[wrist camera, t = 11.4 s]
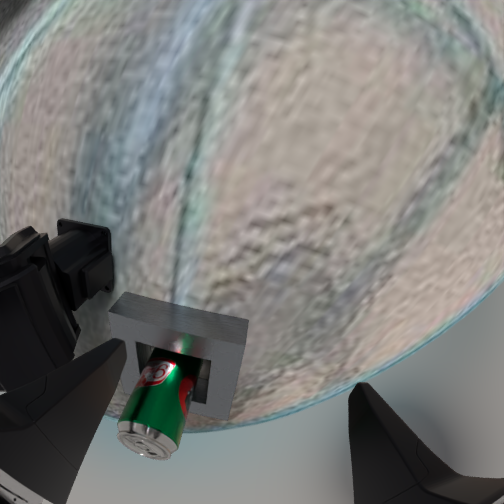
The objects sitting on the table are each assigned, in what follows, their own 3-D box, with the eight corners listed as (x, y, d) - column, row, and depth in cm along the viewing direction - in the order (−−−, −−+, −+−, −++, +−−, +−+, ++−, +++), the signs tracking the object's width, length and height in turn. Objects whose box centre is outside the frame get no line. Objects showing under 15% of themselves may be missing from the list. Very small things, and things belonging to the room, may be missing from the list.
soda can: (181, 324, 25) (136, 427, 13) (214, 358, 26) (189, 461, 15) (148, 341, 26) (101, 431, 15) (180, 372, 27) (148, 463, 16)
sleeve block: (134, 372, 28) (124, 393, 25) (125, 291, 24) (107, 311, 20) (231, 397, 28) (227, 420, 25) (248, 319, 24) (245, 345, 20)
